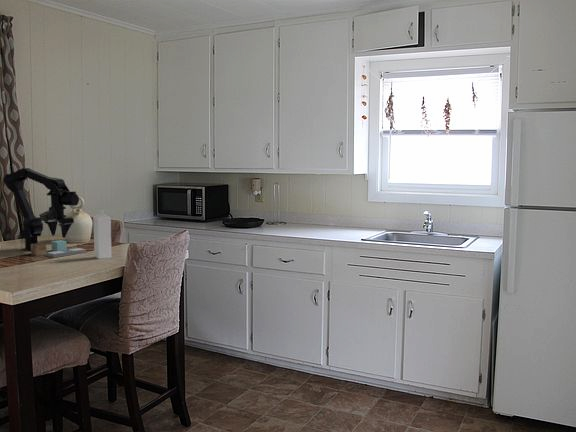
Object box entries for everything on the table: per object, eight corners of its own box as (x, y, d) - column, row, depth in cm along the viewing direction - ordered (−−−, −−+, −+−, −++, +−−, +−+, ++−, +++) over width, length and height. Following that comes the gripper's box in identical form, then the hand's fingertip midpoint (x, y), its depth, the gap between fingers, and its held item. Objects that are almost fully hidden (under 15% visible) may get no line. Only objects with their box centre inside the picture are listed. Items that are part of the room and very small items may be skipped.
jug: (87, 243, 303) (85, 196, 300) (57, 243, 303) (56, 196, 300) (97, 239, 318) (95, 194, 315) (69, 238, 318) (67, 194, 315)
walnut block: (31, 254, 272) (30, 244, 271) (41, 253, 276) (40, 242, 275) (36, 255, 269) (36, 245, 268) (46, 254, 273) (46, 243, 272)
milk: (98, 259, 261) (97, 211, 259) (94, 257, 266) (92, 210, 263) (111, 257, 265) (110, 210, 262) (107, 255, 270) (105, 209, 267)
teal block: (51, 251, 280) (51, 241, 279) (61, 250, 284) (60, 240, 283) (57, 252, 277) (57, 242, 276) (66, 251, 281) (66, 241, 280)
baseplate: (45, 255, 268) (45, 252, 268) (78, 250, 281) (78, 247, 281) (54, 257, 264) (53, 254, 264) (86, 252, 277) (86, 249, 277)
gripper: (31, 204, 277) (32, 236, 279) (52, 207, 266) (53, 240, 268) (52, 203, 286) (53, 234, 288) (74, 205, 275) (75, 237, 276)
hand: (58, 236), depth 280 cm, fingers open, 9 cm apart
